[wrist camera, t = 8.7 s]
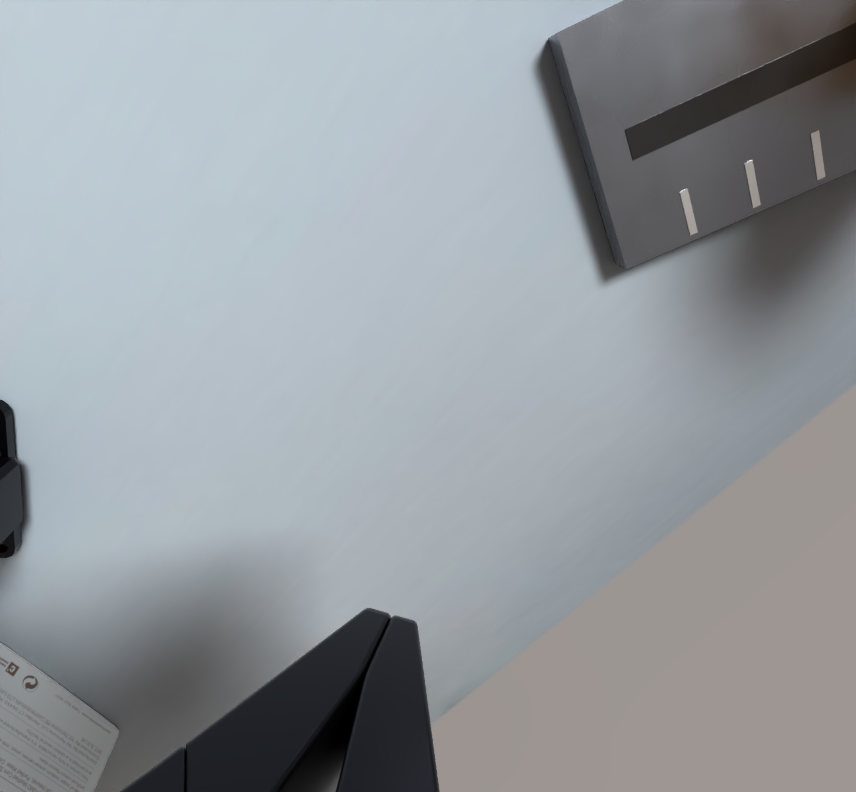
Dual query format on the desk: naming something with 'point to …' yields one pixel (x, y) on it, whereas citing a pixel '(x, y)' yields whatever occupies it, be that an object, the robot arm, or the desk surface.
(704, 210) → the plate
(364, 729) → the robot arm
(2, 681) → the supplement box
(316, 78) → the desk surface
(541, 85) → the desk surface
